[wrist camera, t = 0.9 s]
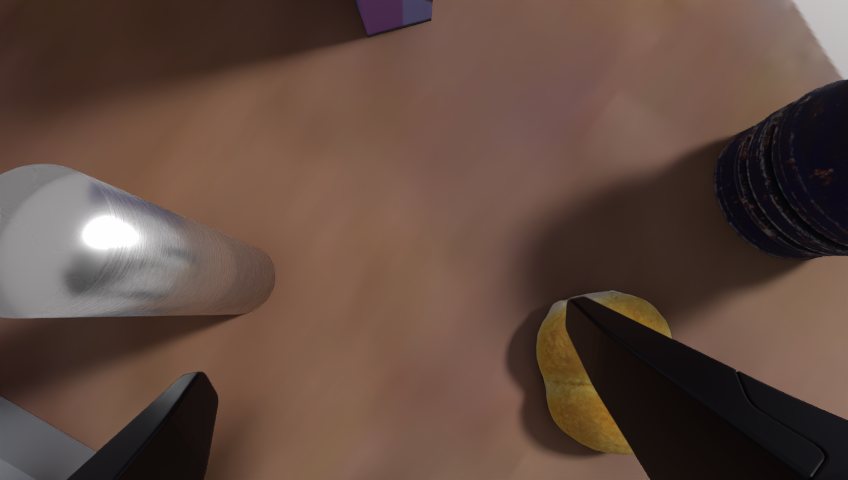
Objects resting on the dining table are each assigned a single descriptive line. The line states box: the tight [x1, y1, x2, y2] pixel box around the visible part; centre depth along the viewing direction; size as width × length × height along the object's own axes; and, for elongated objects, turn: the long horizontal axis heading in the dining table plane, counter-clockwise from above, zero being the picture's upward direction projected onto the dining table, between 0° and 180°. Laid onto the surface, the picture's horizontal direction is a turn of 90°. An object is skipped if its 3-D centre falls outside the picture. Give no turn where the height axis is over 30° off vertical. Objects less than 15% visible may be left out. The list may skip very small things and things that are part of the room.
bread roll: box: [536, 290, 672, 455], centre depth 21 cm, size 8×9×4 cm
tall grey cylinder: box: [0, 164, 275, 318], centre depth 17 cm, size 4×4×13 cm
